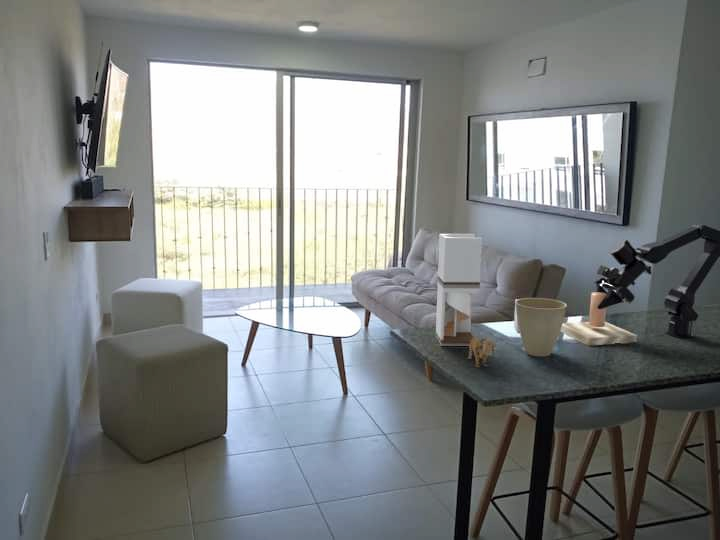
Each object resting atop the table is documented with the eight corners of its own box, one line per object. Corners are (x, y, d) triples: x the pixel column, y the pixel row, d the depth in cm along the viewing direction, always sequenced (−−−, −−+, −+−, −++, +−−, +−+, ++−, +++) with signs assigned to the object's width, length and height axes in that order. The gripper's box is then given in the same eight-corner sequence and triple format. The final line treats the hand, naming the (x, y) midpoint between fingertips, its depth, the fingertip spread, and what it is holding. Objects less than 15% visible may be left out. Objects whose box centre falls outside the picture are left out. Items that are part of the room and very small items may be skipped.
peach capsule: (605, 324, 199) (607, 293, 197) (604, 327, 194) (606, 295, 192) (589, 322, 201) (591, 291, 199) (588, 326, 196) (590, 294, 195)
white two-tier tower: (441, 347, 184) (445, 237, 178) (435, 337, 195) (439, 233, 189) (476, 347, 185) (482, 238, 178) (469, 337, 195) (474, 234, 189)
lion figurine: (498, 370, 164) (500, 339, 162) (481, 372, 163) (482, 341, 161) (474, 354, 178) (475, 325, 176) (458, 355, 176) (459, 327, 175)
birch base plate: (602, 327, 209) (603, 321, 208) (636, 342, 192) (636, 335, 191) (557, 330, 205) (558, 323, 205) (587, 345, 188) (588, 338, 187)
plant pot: (561, 348, 185) (564, 299, 182) (564, 363, 171) (568, 310, 168) (512, 343, 189) (515, 296, 186) (512, 358, 175) (515, 306, 172)
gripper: (600, 253, 203) (567, 284, 204) (628, 262, 185) (592, 296, 186) (620, 275, 205) (587, 306, 206) (649, 286, 187) (613, 319, 188)
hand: (594, 306), depth 196 cm, fingers closed on peach capsule, 5 cm apart
